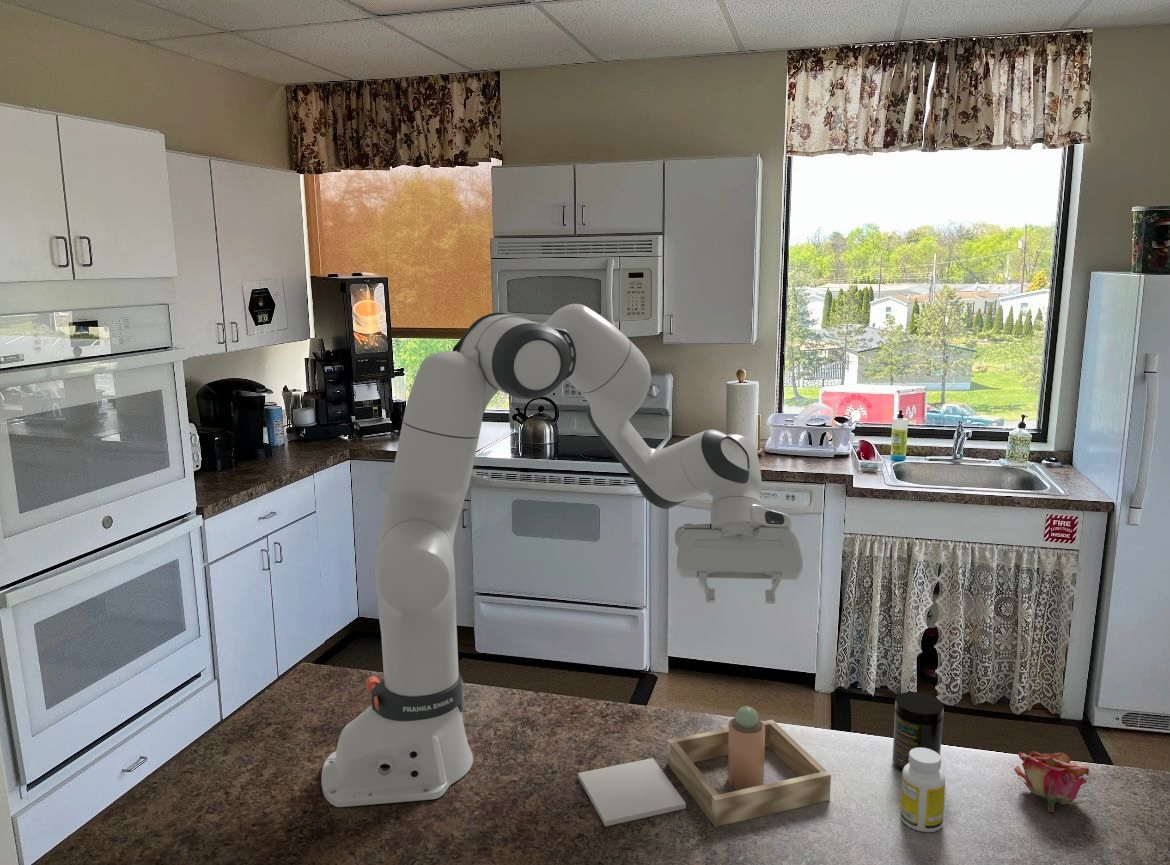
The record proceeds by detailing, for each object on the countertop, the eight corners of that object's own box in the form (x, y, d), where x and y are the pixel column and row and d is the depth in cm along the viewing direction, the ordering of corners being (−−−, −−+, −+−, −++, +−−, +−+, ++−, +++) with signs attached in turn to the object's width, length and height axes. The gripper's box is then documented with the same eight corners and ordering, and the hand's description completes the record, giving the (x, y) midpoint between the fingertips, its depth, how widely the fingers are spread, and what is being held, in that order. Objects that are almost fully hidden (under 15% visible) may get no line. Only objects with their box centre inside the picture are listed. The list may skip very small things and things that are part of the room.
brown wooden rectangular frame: (715, 827, 115) (715, 800, 114) (667, 763, 130) (667, 739, 129) (829, 800, 121) (830, 774, 120) (771, 742, 136) (772, 719, 135)
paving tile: (605, 826, 116) (605, 821, 115) (578, 777, 127) (578, 772, 127) (685, 808, 119) (685, 803, 119) (652, 762, 130) (652, 757, 130)
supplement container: (936, 784, 124) (940, 718, 122) (887, 771, 127) (891, 707, 125) (942, 761, 130) (947, 698, 128) (896, 749, 133) (899, 688, 131)
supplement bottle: (943, 814, 117) (948, 749, 115) (941, 838, 112) (946, 770, 111) (901, 804, 119) (905, 740, 118) (897, 827, 115) (902, 761, 113)
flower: (1100, 822, 112) (1103, 760, 115) (1027, 802, 114) (1032, 741, 117) (1066, 821, 121) (1069, 763, 124) (999, 802, 123) (1004, 745, 126)
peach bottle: (738, 795, 122) (739, 719, 120) (721, 775, 127) (722, 702, 125) (770, 788, 124) (772, 713, 122) (752, 768, 129) (754, 696, 126)
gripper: (674, 514, 142) (674, 592, 134) (800, 516, 139) (807, 595, 131) (675, 532, 147) (674, 608, 139) (796, 534, 144) (802, 611, 137)
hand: (740, 601), depth 135 cm, fingers open, 8 cm apart
